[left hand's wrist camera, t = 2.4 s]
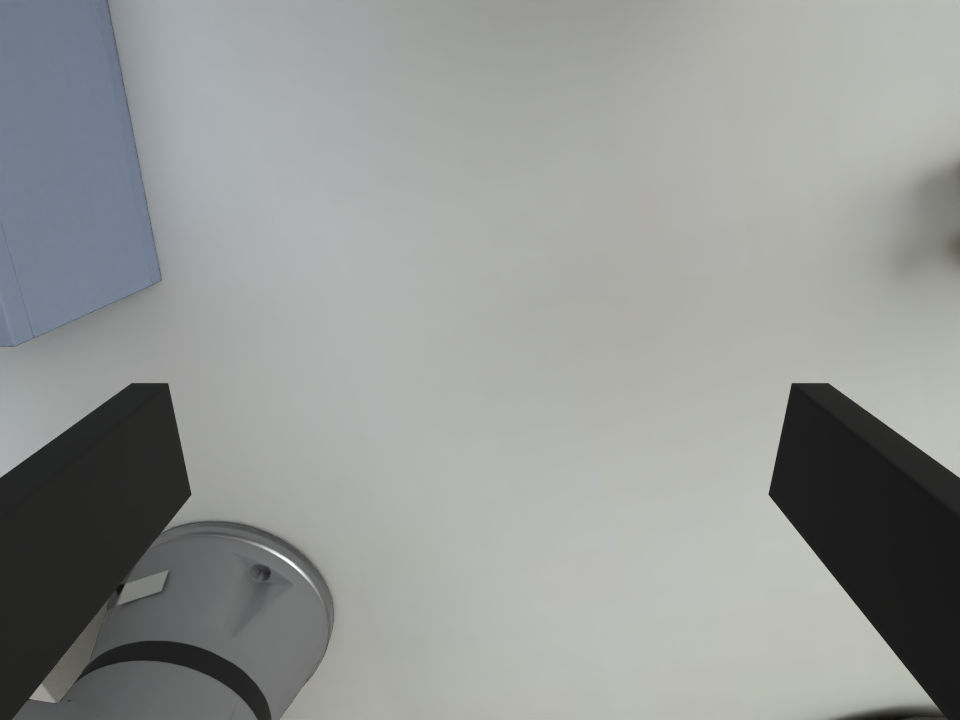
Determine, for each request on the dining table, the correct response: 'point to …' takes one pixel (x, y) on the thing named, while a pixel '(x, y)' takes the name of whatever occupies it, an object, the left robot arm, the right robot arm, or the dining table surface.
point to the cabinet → (66, 170)
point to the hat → (926, 718)
